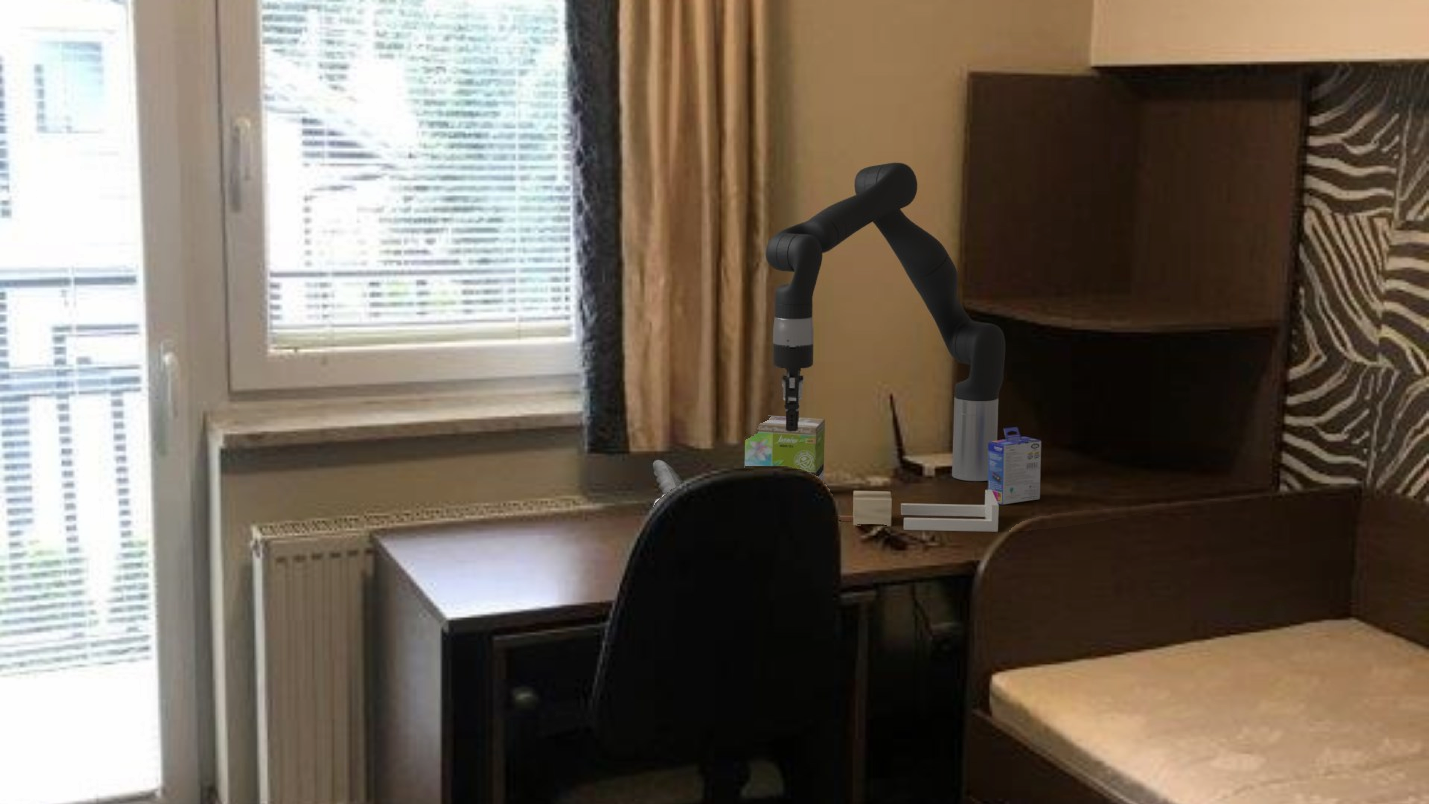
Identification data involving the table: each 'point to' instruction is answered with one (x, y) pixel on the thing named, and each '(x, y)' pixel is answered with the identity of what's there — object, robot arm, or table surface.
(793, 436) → the tea box
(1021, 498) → the ink cartridge box
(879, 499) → the beech mallet
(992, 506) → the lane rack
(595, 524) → the table surface
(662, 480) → the grey ribbed curved piece
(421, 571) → the table surface
